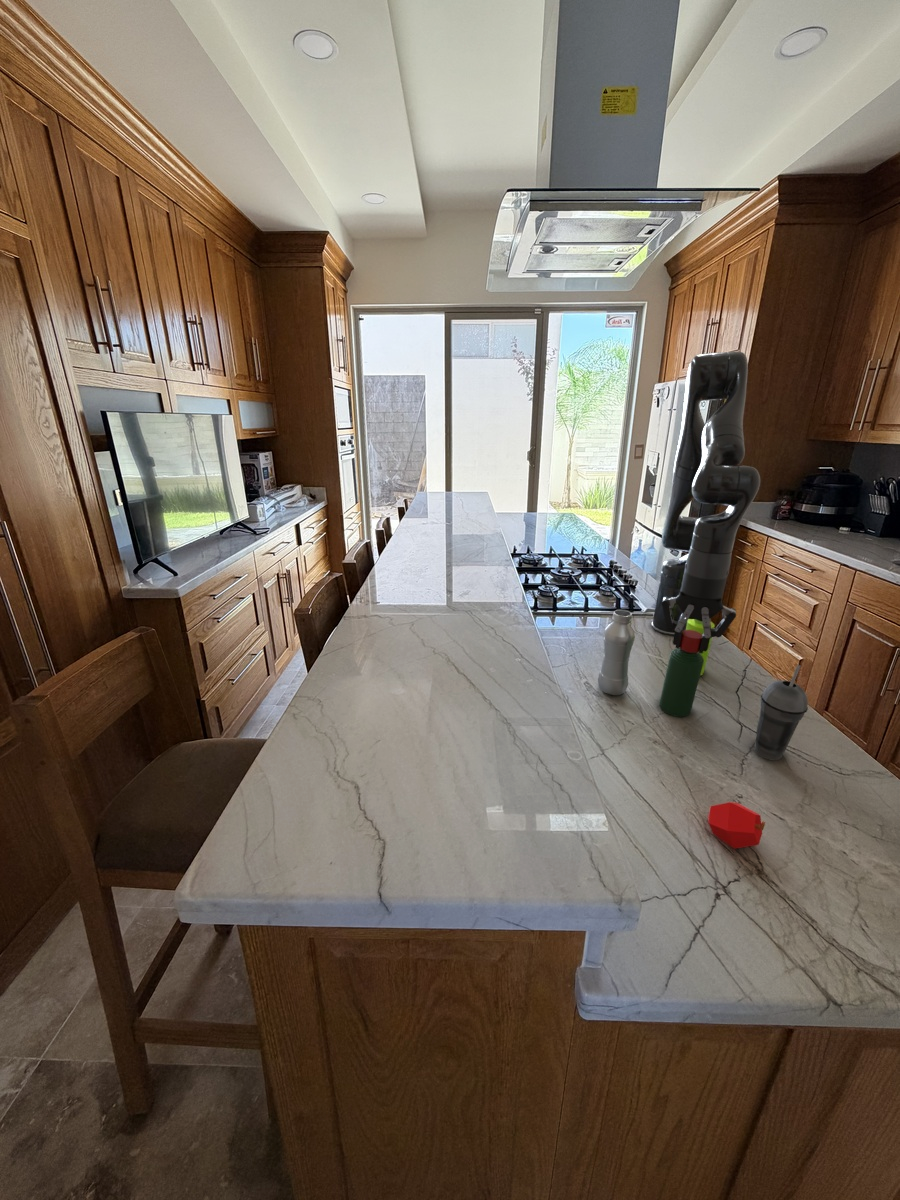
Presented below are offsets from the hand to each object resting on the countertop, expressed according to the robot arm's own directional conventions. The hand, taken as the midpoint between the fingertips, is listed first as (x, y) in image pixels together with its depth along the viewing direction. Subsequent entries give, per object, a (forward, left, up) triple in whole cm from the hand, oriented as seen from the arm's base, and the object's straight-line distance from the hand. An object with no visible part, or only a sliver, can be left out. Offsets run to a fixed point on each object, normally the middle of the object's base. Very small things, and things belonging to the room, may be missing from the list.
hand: (689, 648), depth 100 cm
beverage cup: (+3, +18, -15) cm, 24 cm away
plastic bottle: (+2, -14, -15) cm, 21 cm away
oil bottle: (0, 0, -15) cm, 15 cm away
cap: (0, 0, 0) cm, 0 cm away
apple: (+29, +17, -15) cm, 37 cm away
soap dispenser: (-19, -2, -15) cm, 24 cm away
